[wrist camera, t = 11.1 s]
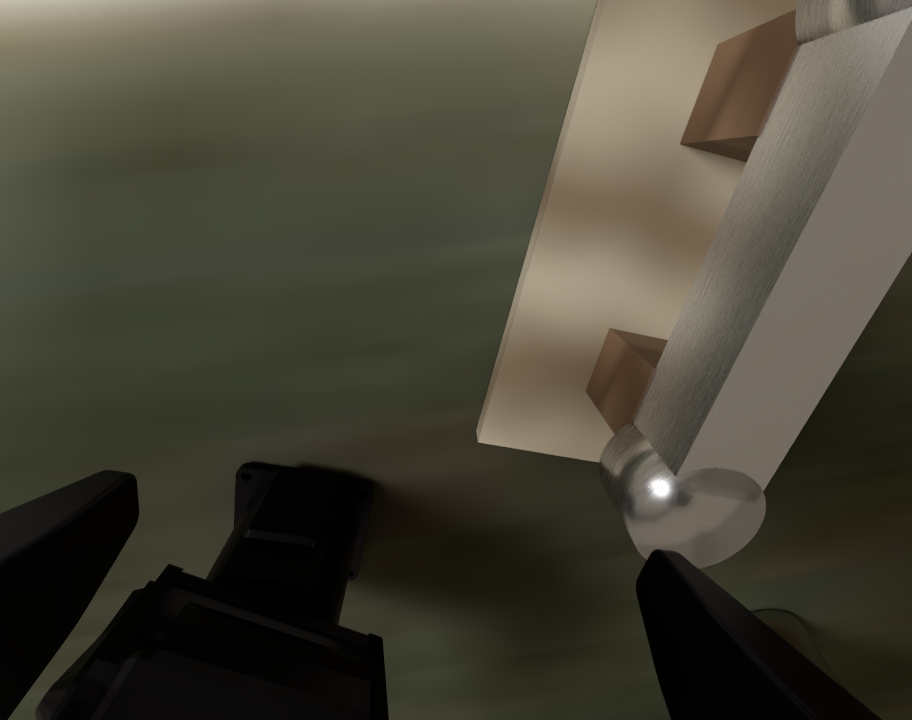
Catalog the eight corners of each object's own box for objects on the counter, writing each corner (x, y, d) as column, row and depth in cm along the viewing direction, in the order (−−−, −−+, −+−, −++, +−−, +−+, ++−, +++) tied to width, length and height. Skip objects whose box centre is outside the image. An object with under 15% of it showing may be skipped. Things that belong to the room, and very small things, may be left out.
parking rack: (684, 466, 22) (749, 542, 18) (476, 430, 21) (487, 503, 16) (933, -13, 15) (1158, -96, 10) (631, -118, 13) (734, -269, 9)
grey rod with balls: (680, 511, 17) (727, 577, 14) (583, 495, 16) (613, 561, 14) (1004, -88, 10) (1217, -185, 7) (854, -146, 10) (1023, -272, 7)
